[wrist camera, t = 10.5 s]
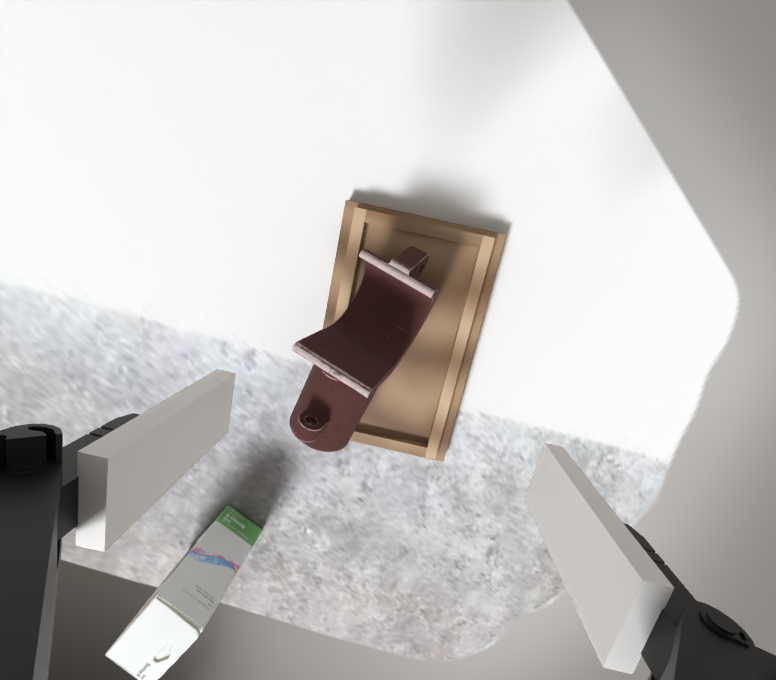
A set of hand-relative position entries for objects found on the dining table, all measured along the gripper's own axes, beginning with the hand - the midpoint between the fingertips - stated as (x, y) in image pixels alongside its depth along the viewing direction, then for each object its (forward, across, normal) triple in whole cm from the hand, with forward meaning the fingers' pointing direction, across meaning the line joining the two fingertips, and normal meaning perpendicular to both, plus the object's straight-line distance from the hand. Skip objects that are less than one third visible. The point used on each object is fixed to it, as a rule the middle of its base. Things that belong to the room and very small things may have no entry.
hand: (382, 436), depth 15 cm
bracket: (+19, -4, 0) cm, 19 cm away
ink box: (+20, -14, -27) cm, 37 cm away
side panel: (+20, 0, 0) cm, 20 cm away
